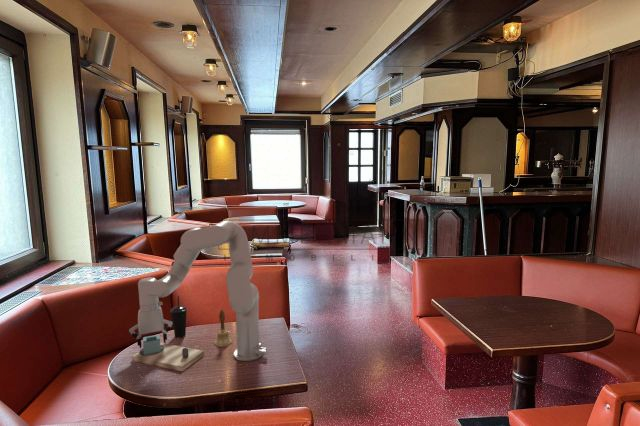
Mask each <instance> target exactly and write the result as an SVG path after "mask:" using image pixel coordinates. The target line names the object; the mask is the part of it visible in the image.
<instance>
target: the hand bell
mask: <svg viewBox="0 0 640 426" xmlns="http://www.w3.org/2000/svg"><path fill="white" fill-rule="evenodd" d="M219 311H220V312H219V314H218V318H219V322H220V330H219V331H218V332H217V337H216V339H215V341H214V343H213V344H214V346H215V347H219V348H222V347H223V348H224V347H227V346H228V347H229V346H231V345H232V343H233V339H232V338H231V337H230V336H229V332H228V330H227V329H225V328H226V326H225V321H226V315H225V311H224V309H220V310H219Z"/></svg>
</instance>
